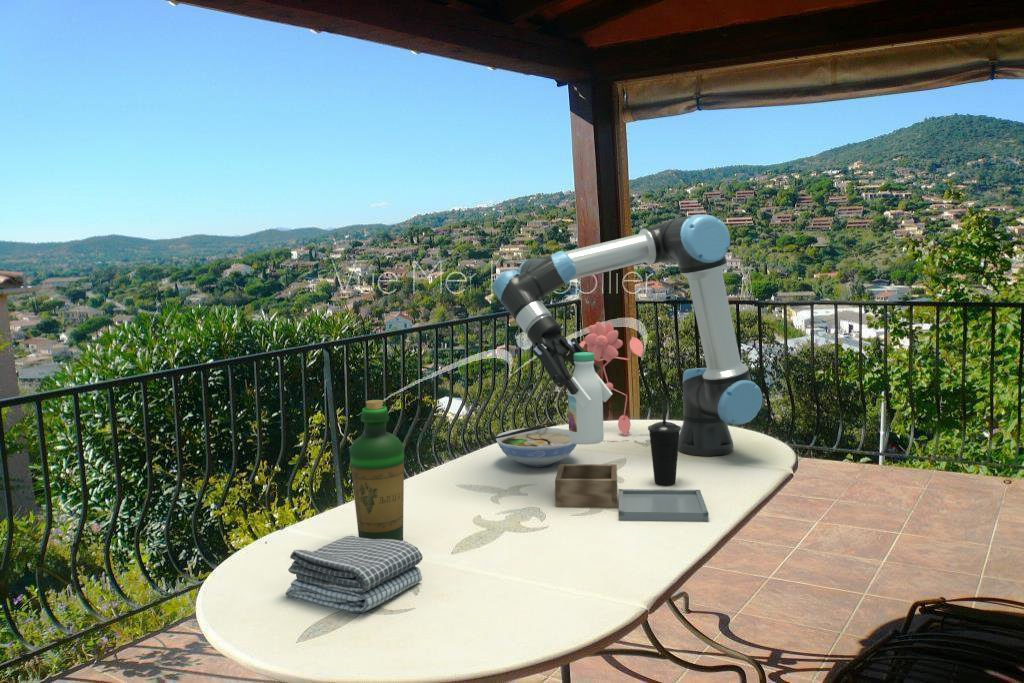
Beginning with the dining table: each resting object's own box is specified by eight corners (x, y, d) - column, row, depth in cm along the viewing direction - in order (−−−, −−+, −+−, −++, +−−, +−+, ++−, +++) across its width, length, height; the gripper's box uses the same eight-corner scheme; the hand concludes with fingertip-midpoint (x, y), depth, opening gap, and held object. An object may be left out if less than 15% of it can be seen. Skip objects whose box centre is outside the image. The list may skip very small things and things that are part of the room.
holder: (617, 489, 182) (616, 464, 182) (617, 507, 169) (616, 480, 169) (559, 489, 184) (559, 464, 184) (555, 507, 171) (554, 480, 170)
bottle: (362, 557, 145) (354, 408, 142) (346, 540, 154) (339, 400, 152) (416, 546, 150) (410, 402, 147) (398, 530, 159) (391, 394, 156)
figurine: (581, 426, 252) (577, 318, 248) (653, 435, 237) (651, 320, 233) (555, 436, 240) (550, 323, 236) (630, 446, 225) (626, 325, 220)
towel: (368, 620, 120) (365, 570, 119) (281, 598, 129) (279, 552, 128) (426, 583, 133) (424, 538, 132) (344, 565, 142) (341, 523, 141)
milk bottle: (607, 438, 178) (604, 350, 176) (599, 446, 170) (597, 355, 168) (574, 436, 180) (571, 350, 178) (565, 444, 173) (562, 355, 171)
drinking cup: (679, 478, 189) (678, 397, 187) (683, 488, 182) (682, 403, 180) (647, 478, 190) (646, 398, 188) (649, 488, 183) (648, 403, 181)
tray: (700, 497, 174) (699, 489, 174) (708, 521, 159) (708, 512, 158) (618, 496, 177) (618, 489, 176) (619, 520, 161) (618, 511, 161)
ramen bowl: (533, 481, 191) (532, 448, 190) (475, 465, 208) (473, 435, 208) (602, 462, 208) (601, 431, 207) (543, 448, 225) (542, 420, 224)
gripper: (558, 332, 191) (614, 404, 181) (501, 340, 176) (560, 419, 167) (574, 311, 187) (633, 383, 177) (518, 318, 172) (579, 397, 163)
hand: (597, 400), depth 172 cm, fingers closed on milk bottle, 7 cm apart
